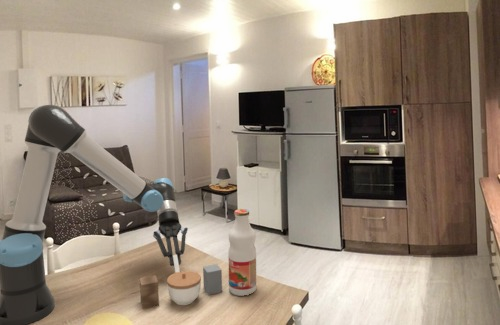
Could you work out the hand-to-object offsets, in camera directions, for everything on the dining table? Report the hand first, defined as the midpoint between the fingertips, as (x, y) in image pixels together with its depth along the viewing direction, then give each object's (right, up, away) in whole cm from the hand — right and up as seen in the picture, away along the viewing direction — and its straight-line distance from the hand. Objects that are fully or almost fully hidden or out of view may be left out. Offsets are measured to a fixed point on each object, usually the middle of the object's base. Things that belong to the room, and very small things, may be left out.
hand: (177, 273), depth 124 cm
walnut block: (-7, -6, -10) cm, 14 cm away
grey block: (+13, -5, -2) cm, 14 cm away
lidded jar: (+4, -6, -9) cm, 11 cm away
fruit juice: (+23, -5, -2) cm, 24 cm away
